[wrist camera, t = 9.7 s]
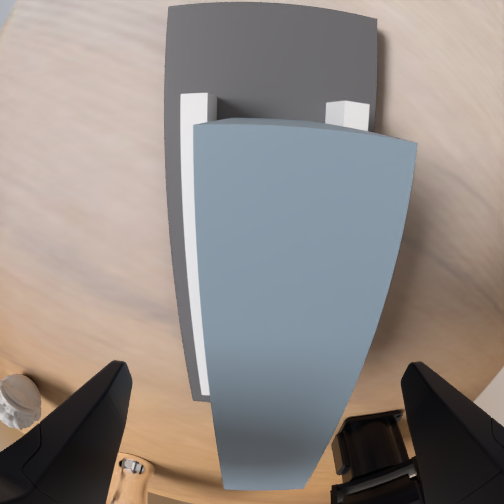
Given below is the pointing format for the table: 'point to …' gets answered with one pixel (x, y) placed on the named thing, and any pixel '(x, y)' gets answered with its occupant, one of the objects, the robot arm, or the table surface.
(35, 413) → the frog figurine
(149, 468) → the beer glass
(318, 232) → the door
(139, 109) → the table surface
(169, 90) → the hinge frame
